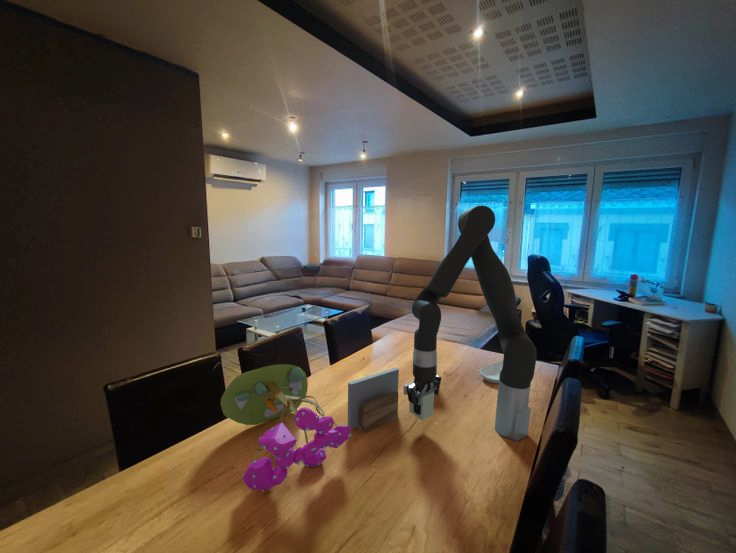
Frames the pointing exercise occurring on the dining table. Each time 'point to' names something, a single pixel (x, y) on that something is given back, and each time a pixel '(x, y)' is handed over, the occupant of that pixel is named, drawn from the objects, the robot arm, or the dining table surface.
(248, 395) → the magenta clustered figurine
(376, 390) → the wall board
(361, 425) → the brown wooden block
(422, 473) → the dining table surface
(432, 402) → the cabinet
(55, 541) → the dining table surface
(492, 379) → the spoon rest
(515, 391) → the robot arm
